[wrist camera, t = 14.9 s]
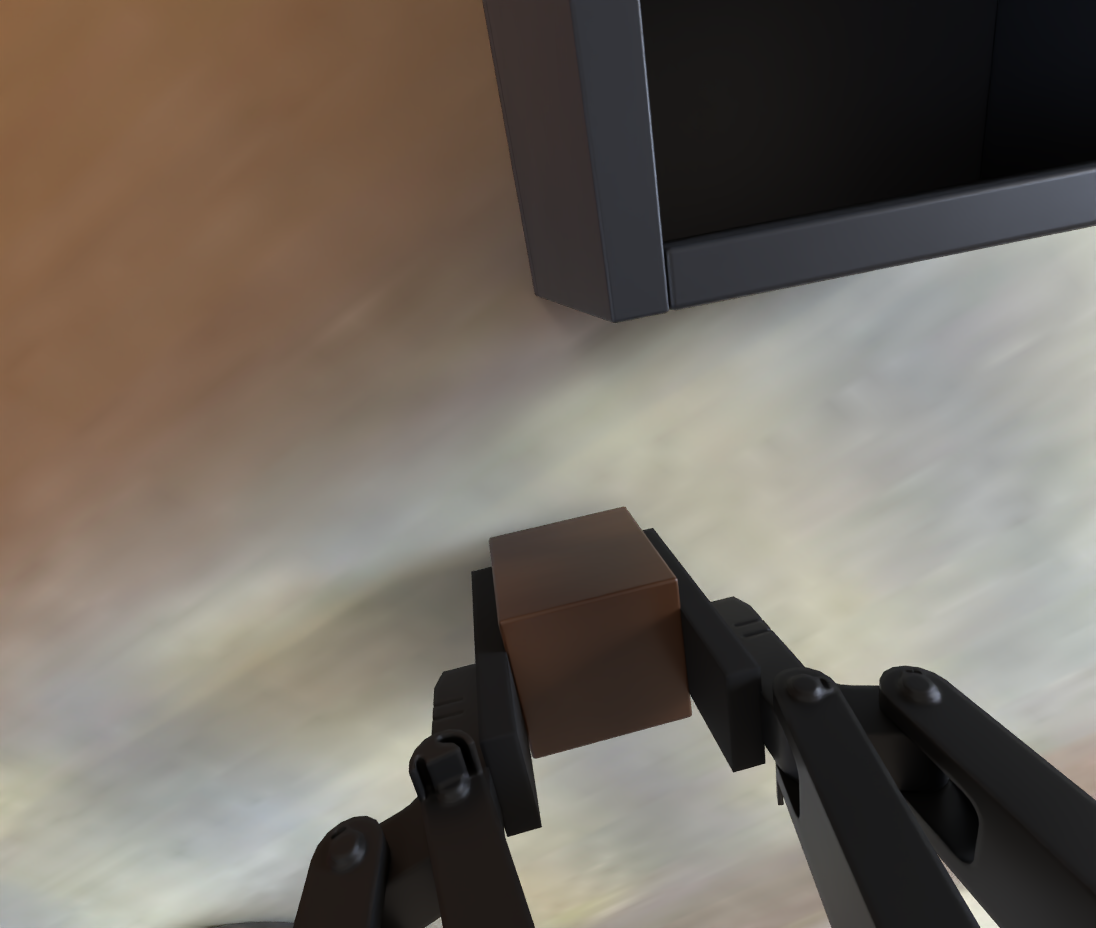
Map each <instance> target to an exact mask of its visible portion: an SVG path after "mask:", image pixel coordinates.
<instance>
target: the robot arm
mask: <svg viewBox="0 0 1096 928" xmlns="http://www.w3.org/2000/svg"><path fill="white" fill-rule="evenodd" d="M643 532H644V534H645V535H646V536H647V538H648V539H649V541H650V542H651V543H652V545H653V546H654V547H655V549H656V550H657V552H658V553H659V554H660V556H661V557H662V558H663V560H664V561H665V563H666V564H667V565H668V567H669V568H670V570H671V571H672V572H673V574H674V575H675V576H676V578H677V579H678V588H679V597H680V612H681V621H682V630H683V640H684V649H685V658H686V667H687V676H688V685H689V693H690V695H691V697H692V699H693V701H694V702H695V704H696V706H697V708H698V710H699V711H700V713H701V715H702V717H703V719H704V720H705V722H706V724H707V726H708V728H709V729H710V731H711V733H712V735H713V737H714V738H715V740H716V742H717V744H718V746H719V747H720V749H721V751H722V753H723V755H724V756H725V758H726V760H727V762H728V764H729V765H730V767H731V769H732V771H733V772H737V771H740V770H744V769H747V768H751V767H754V766H758V765H761V764H765V746H766V748H767V749H768V751H769V752H770V754H771V755H772V757H773V758H774V760H775V761H776V785H777V799H778V805H784V802H783V797H784V800H785V803H786V805H787V808H788V811H789V813H790V816H791V819H792V822H793V824H794V827H795V830H796V832H797V835H798V838H799V841H800V843H801V846H802V849H803V851H804V854H805V857H806V860H807V862H808V865H809V868H810V870H811V873H812V876H813V879H814V881H815V884H816V887H817V890H818V892H819V895H820V898H821V900H822V903H823V906H824V909H825V911H826V914H827V917H828V919H829V922H830V925H831V928H980V926H979V924H978V923H977V921H976V919H975V918H974V916H973V914H972V913H971V911H970V909H969V907H968V906H967V904H966V902H965V901H964V899H963V897H962V896H961V894H960V892H959V890H958V889H957V887H956V885H955V884H954V882H953V880H952V879H951V877H950V875H949V873H948V872H947V870H946V868H945V867H944V865H943V863H942V862H941V860H940V858H941V859H942V860H943V862H944V863H945V864H946V865H947V866H948V867H949V869H950V870H951V871H952V872H953V873H954V874H955V876H956V877H957V878H958V879H959V880H960V881H961V883H962V884H963V885H964V886H965V887H966V889H967V890H968V891H969V892H970V893H971V894H972V896H973V897H974V898H975V899H976V900H977V901H978V903H979V904H980V905H981V906H982V907H983V908H984V910H985V911H986V912H987V913H988V914H989V916H990V917H991V918H992V919H993V920H994V921H995V923H996V924H997V925H998V926H999V927H1000V928H1096V800H1095V799H1093V798H1092V797H1091V796H1090V795H1088V794H1087V793H1086V792H1085V791H1083V790H1082V789H1081V788H1080V787H1078V786H1077V785H1076V784H1075V783H1073V782H1072V781H1071V780H1070V779H1068V778H1067V777H1066V776H1065V775H1064V774H1062V773H1061V772H1060V771H1059V770H1057V769H1056V768H1055V767H1054V766H1052V765H1051V764H1050V763H1049V762H1047V761H1046V760H1045V759H1044V758H1042V757H1041V756H1040V755H1039V754H1037V753H1036V752H1035V751H1034V750H1032V749H1031V748H1030V747H1029V746H1027V745H1026V744H1025V743H1024V742H1022V741H1021V740H1020V739H1019V738H1017V737H1016V736H1015V735H1014V734H1013V733H1011V732H1010V731H1009V730H1008V729H1006V728H1005V727H1004V726H1003V725H1001V724H1000V723H999V722H998V721H996V720H995V719H994V718H993V717H991V716H990V715H989V714H988V713H986V712H985V711H984V710H983V709H981V708H980V707H979V706H978V705H976V704H975V703H974V702H973V701H971V700H970V699H969V698H968V697H966V696H965V695H964V694H963V693H962V692H960V691H959V690H958V689H957V688H955V687H954V686H953V685H952V684H950V683H949V682H948V681H947V680H945V679H943V678H942V677H940V676H938V675H937V674H935V673H933V672H931V671H928V670H925V669H922V668H919V667H911V666H899V667H892V668H890V669H888V670H886V671H885V672H883V674H882V676H881V678H880V681H879V686H853V685H840V684H836V683H835V682H834V681H833V680H832V679H831V678H830V677H828V676H827V675H825V674H823V673H822V672H820V671H817V670H814V669H810V668H806V667H804V665H803V664H802V663H801V662H800V661H799V660H798V659H797V658H796V656H795V655H794V654H793V653H792V652H791V651H790V650H789V649H788V647H787V646H786V645H785V644H784V643H783V642H782V641H781V640H780V638H779V637H778V636H777V635H776V634H775V633H774V632H773V631H771V629H770V627H769V626H768V625H767V624H766V623H765V622H764V620H762V619H761V617H760V616H759V615H758V614H757V613H756V611H755V610H754V609H753V608H752V607H751V606H750V605H748V604H747V603H745V602H743V601H741V600H739V599H737V598H735V597H734V596H733V597H729V598H725V599H721V600H717V601H714V602H710V601H709V600H708V598H707V597H706V596H705V595H704V593H703V592H702V591H701V589H700V588H699V587H698V586H697V584H696V583H695V582H694V580H693V579H692V578H691V576H690V575H689V574H688V573H687V571H686V570H685V569H684V567H683V566H682V565H681V564H680V562H679V561H678V560H677V558H676V557H675V556H674V555H673V553H672V552H671V551H670V549H669V548H668V547H667V546H666V544H665V543H664V542H663V540H662V539H661V538H660V537H659V535H658V534H657V533H656V531H655V530H654V529H653V528H651V529H647V530H643ZM471 574H472V596H473V618H474V641H475V663H476V664H472V665H468V666H464V667H460V668H456V669H452V670H449V671H445V672H443V673H442V675H441V677H440V678H439V680H438V682H437V684H436V686H435V688H434V702H433V705H434V708H433V721H432V735H431V736H430V737H428V738H426V739H425V740H424V741H423V742H422V743H421V744H420V745H419V746H418V747H417V748H416V749H415V751H414V753H413V755H412V757H411V759H410V762H409V774H410V777H411V779H412V782H413V785H414V787H415V790H416V793H417V796H418V797H417V798H416V799H415V800H414V801H413V802H412V803H411V804H410V805H408V806H407V807H406V808H404V809H403V810H401V811H400V812H398V813H397V814H395V815H393V816H392V817H390V818H388V819H387V820H385V821H383V822H382V823H380V824H379V823H378V822H377V820H375V819H373V818H370V817H368V816H359V817H353V818H350V819H348V820H346V821H343V822H341V823H340V824H338V825H337V826H336V827H334V828H333V829H332V830H331V831H329V832H328V833H327V834H326V836H325V837H324V838H323V839H322V841H321V842H320V843H319V844H318V846H317V848H316V850H315V853H314V855H313V857H312V859H311V863H310V866H309V870H308V874H307V878H306V881H305V885H304V889H303V892H302V896H301V900H300V903H299V907H298V911H297V915H296V918H295V922H294V923H288V922H250V923H238V924H229V925H222V926H215V927H210V928H425V927H427V926H428V925H429V924H431V923H432V922H434V921H435V920H437V919H438V918H439V917H441V919H442V925H443V928H535V926H534V923H533V920H532V917H531V914H530V911H529V908H528V905H527V902H526V899H525V896H524V893H523V890H522V887H521V884H520V881H519V878H518V875H517V872H516V869H515V866H514V863H513V860H512V857H511V854H510V851H509V847H508V844H507V841H506V838H505V832H504V828H505V831H506V834H507V837H509V836H512V835H516V834H519V833H523V832H526V831H530V830H534V829H537V828H541V827H542V825H541V819H540V812H539V805H538V799H537V792H536V786H535V779H534V773H533V766H532V759H531V753H530V746H529V740H528V734H527V731H526V727H525V723H524V719H523V715H522V711H521V707H520V703H519V699H518V695H517V691H516V687H515V684H514V680H513V676H512V672H511V668H510V664H509V660H508V656H507V652H506V651H505V648H504V645H503V641H502V637H501V633H500V629H499V625H498V617H497V608H496V600H495V591H494V582H493V574H492V567H489V568H485V569H480V570H476V571H472V572H471ZM937 854H938V855H937ZM939 857H940V858H939Z"/></svg>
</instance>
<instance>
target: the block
mask: <svg viewBox="0 0 1096 928" xmlns="http://www.w3.org/2000/svg"><path fill="white" fill-rule="evenodd" d="M489 548H490V556H491V565H492V574H493V582H494V591H495V600H496V608H497V617H498V625H499V629H500V633H501V637H502V641H503V645H504V648H505V651H506V652H507V656H508V660H509V664H510V668H511V672H512V676H513V680H514V684H515V687H516V691H517V695H518V699H519V703H520V707H521V711H522V715H523V719H524V723H525V727H526V731H527V734H528V740H529V746H530V751H531V755H532V756H533V758H535V759H537V758H540V757H544V756H548V755H551V754H555V753H559V752H563V751H566V750H570V749H574V748H577V747H581V746H585V745H588V744H592V743H596V742H599V741H603V740H607V739H610V738H614V737H618V736H621V735H625V734H629V733H632V732H636V731H640V730H643V729H647V728H651V727H654V726H658V725H662V724H665V723H669V722H673V721H676V720H680V719H684V718H687V717H690V716H691V715H692V709H691V700H690V693H689V685H688V676H687V667H686V658H685V649H684V640H683V630H682V621H681V612H680V597H679V588H678V579H677V578H676V576H675V575H674V574H673V572H672V571H671V570H670V568H669V567H668V565H667V564H666V563H665V561H664V560H663V558H662V557H661V556H660V554H659V553H658V552H657V550H656V549H655V547H654V546H653V545H652V543H651V542H650V541H649V539H648V538H647V536H646V535H645V534H644V532H643V531H642V529H641V528H640V527H639V525H638V524H637V523H636V521H635V520H634V518H633V517H632V516H631V514H630V513H629V511H628V510H627V509H626V507H620V508H615V509H611V510H607V511H603V512H598V513H594V514H590V515H586V516H581V517H577V518H573V519H568V520H564V521H560V522H556V523H551V524H547V525H543V526H539V527H534V528H530V529H526V530H521V531H517V532H513V533H509V534H504V535H500V536H496V537H492V538H490V539H489Z"/></svg>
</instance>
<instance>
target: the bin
mask: <svg viewBox="0 0 1096 928" xmlns="http://www.w3.org/2000/svg"><path fill="white" fill-rule="evenodd" d="M482 1H483V7H484V13H485V18H486V24H487V29H488V35H489V40H490V46H491V52H492V57H493V63H494V68H495V74H496V79H497V85H498V91H499V96H500V102H501V107H502V113H503V119H504V124H505V130H506V135H507V141H508V146H509V152H510V158H511V163H512V169H513V174H514V180H515V185H516V191H517V197H518V202H519V208H520V213H521V219H522V225H523V230H524V236H525V241H526V247H527V252H528V258H529V264H530V269H531V275H532V280H533V286H534V291H535V295H536V296H539V297H542V298H545V299H547V300H550V301H553V302H556V303H559V304H562V305H565V306H567V307H570V308H573V309H576V310H579V311H582V312H585V313H587V314H590V315H593V316H596V317H599V318H602V319H604V320H607V321H610V322H613V323H618V322H623V321H628V320H633V319H638V318H643V317H648V316H653V315H658V314H663V313H666V312H667V311H668V310H669V309H670V310H681V309H685V308H690V307H695V306H700V305H705V304H710V303H715V302H720V301H725V300H730V299H735V298H740V297H745V296H750V295H755V294H760V293H765V292H770V291H775V290H779V289H784V288H789V287H794V286H799V285H804V284H809V283H814V282H819V281H824V280H829V279H834V278H839V277H844V276H849V275H854V274H859V273H864V272H869V271H874V270H878V269H883V268H888V267H893V266H898V265H903V264H908V263H913V262H918V261H923V260H928V259H933V258H938V257H943V256H948V255H953V254H958V253H963V252H968V251H973V250H977V249H982V248H987V247H992V246H997V245H1002V244H1007V243H1012V242H1017V241H1022V240H1027V239H1032V238H1037V237H1042V236H1047V235H1052V234H1057V233H1062V232H1067V231H1072V230H1076V229H1081V228H1086V227H1091V226H1096V0H482Z"/></svg>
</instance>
